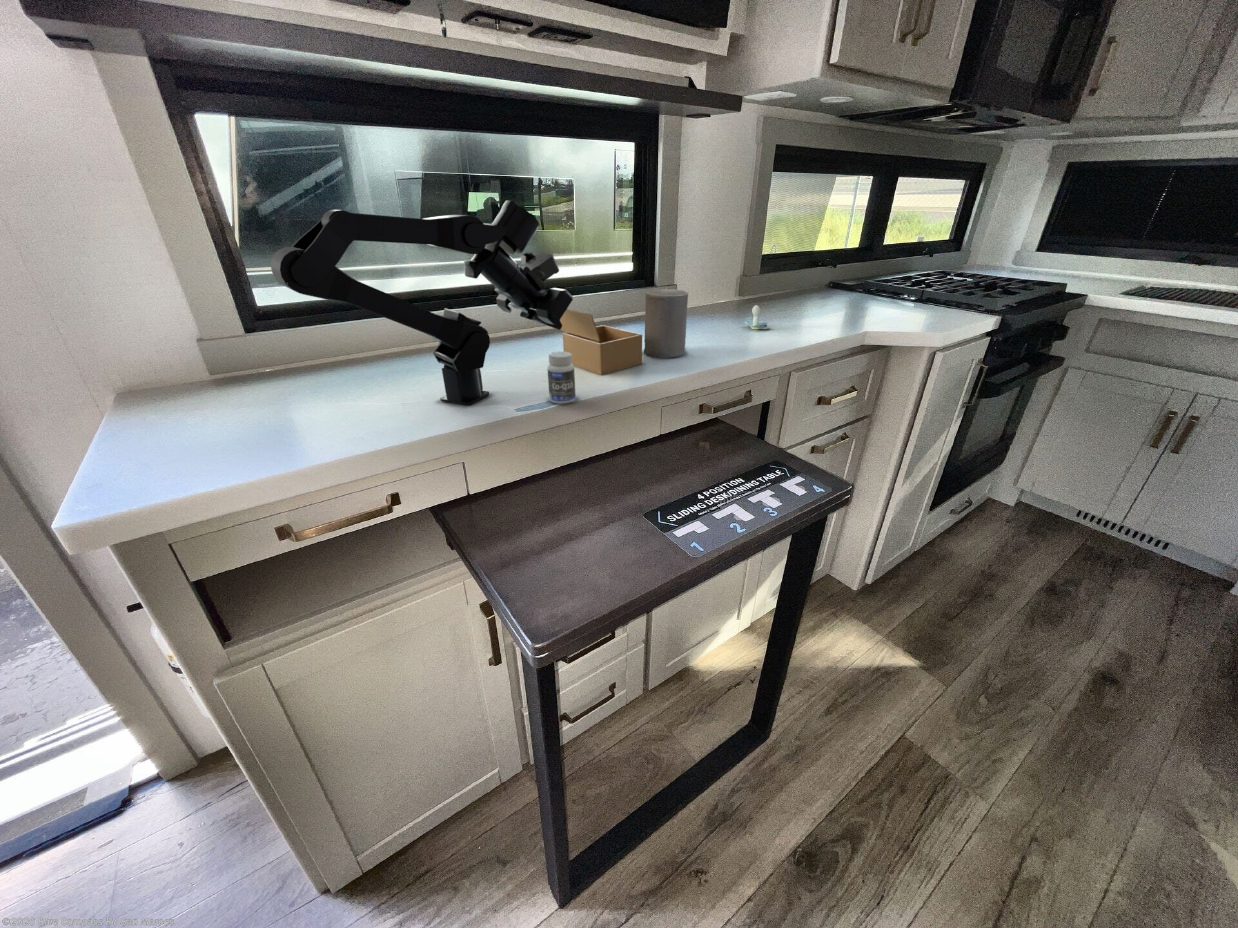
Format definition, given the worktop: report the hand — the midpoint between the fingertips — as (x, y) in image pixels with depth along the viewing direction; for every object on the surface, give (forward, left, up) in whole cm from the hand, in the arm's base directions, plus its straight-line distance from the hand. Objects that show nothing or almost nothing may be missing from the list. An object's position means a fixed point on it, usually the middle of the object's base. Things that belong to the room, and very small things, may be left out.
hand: (560, 327), depth 101 cm
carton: (+10, -5, -9) cm, 14 cm away
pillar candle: (+23, -15, -10) cm, 29 cm away
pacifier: (+57, -31, -10) cm, 65 cm away
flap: (+4, -2, 0) cm, 4 cm away
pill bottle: (-14, -8, -10) cm, 19 cm away
